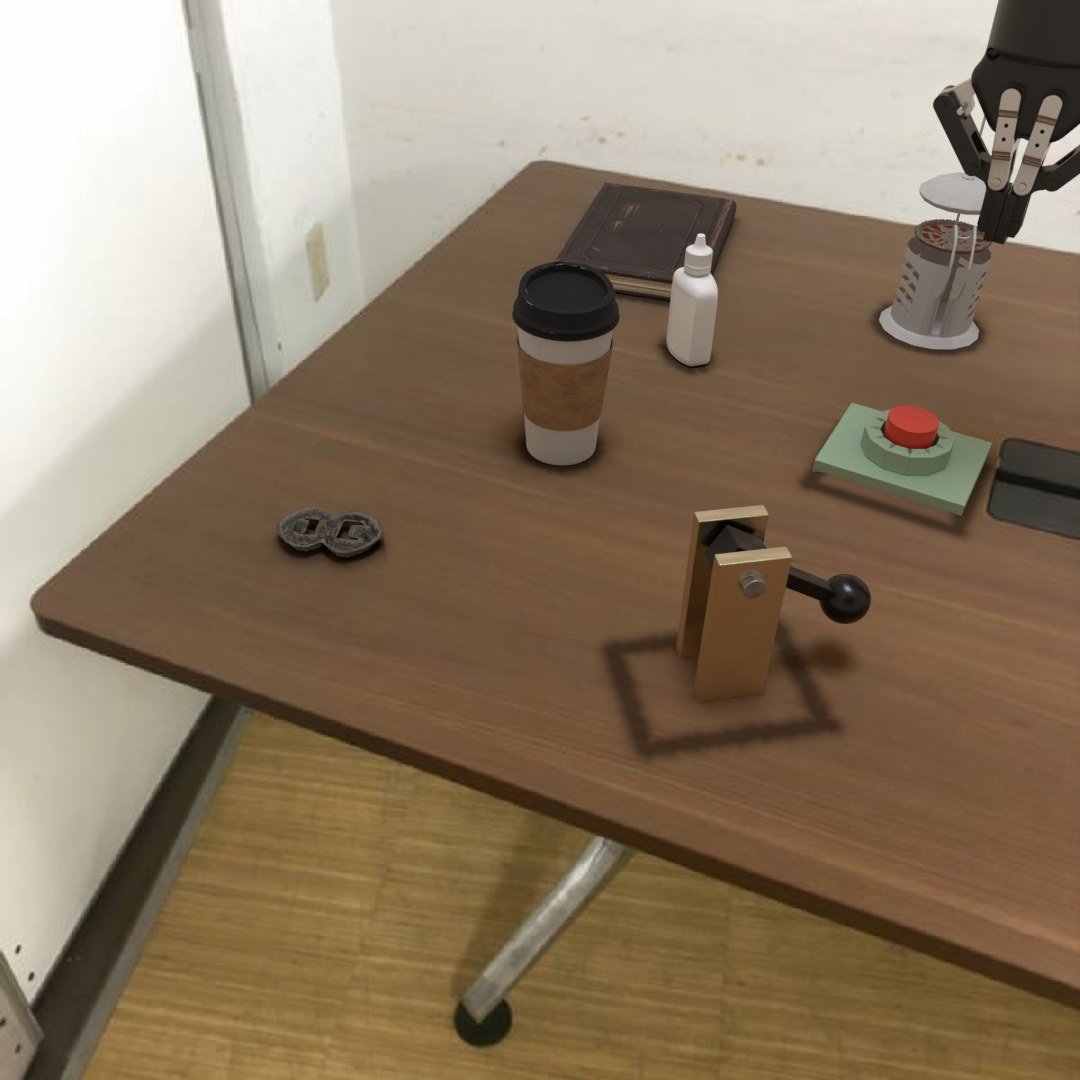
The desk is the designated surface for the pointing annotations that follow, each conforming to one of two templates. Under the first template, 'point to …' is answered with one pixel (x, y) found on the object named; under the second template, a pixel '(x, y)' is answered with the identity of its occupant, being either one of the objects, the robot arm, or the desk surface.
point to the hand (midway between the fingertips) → (996, 238)
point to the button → (911, 427)
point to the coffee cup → (564, 357)
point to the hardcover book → (646, 235)
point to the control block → (903, 461)
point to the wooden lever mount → (731, 606)
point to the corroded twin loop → (330, 531)
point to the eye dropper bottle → (693, 307)
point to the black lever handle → (805, 580)
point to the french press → (942, 269)
